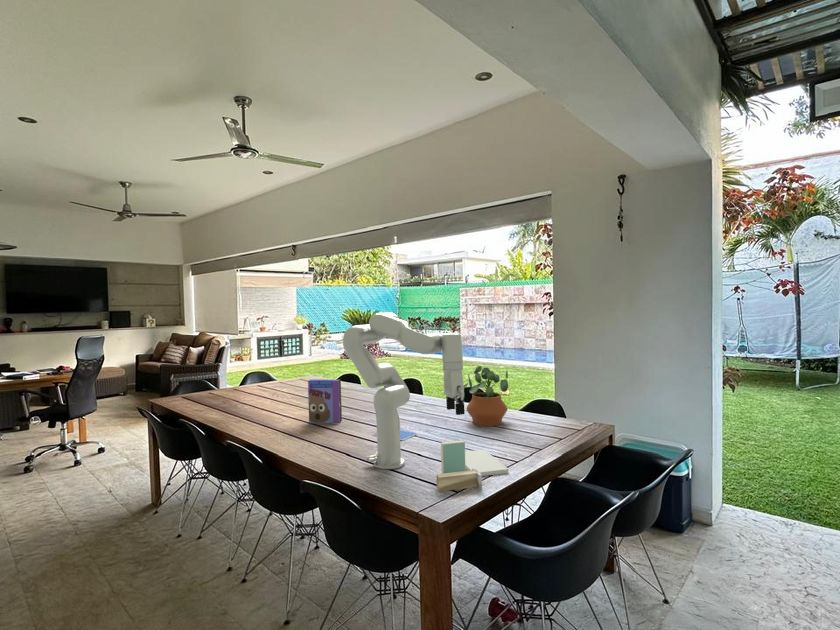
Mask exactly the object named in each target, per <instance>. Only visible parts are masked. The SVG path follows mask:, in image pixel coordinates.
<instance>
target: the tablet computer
mask: <svg viewBox="0 0 840 630" xmlns="http://www.w3.org/2000/svg"><path fill="white" fill-rule="evenodd" d="M373 434H374V435H373V436H375V435H377V432H375V433H373ZM415 435H416V436H418V433H417V432H413V431H407V430H402V429H400V440H402V441H401V442H403V440H404V441H406V439H407V440H409V439H411V438H413V436H414V437H416V436H415ZM410 437H411V438H410ZM408 438H409V439H408Z"/></svg>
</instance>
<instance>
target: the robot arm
mask: <svg viewBox="0 0 840 630" xmlns="http://www.w3.org/2000/svg"><path fill="white" fill-rule="evenodd" d="M384 338H389V339H392V340H395V341H396V342H399V344H400V345H402V346H403V347H404V348H406V349H408V350H410V351H413V352H416V353H417V354H418V353H419V354H421V355H431V354H436V353H439V352H441V357H442V371H443V394H444V396H445V400H446V410H448V411H450V410H451V411H452V410H455V415H456V416H461V415H465V414H466V412H465V411H466V410H465V388H464V385H465V384H464V375H463V370H464V361H463V359H464V357H463V343H462V342H463V339H462V335H461V333H459V332H449V333H448V332H447V333H443V332H429V333H422V332H419V331H417V330H414V329H412V328H411V326H410V323H409V322H408V321H406V320H403V319H401V318H399V316H398V315H397V314H396V313H393V312H389V311H388V312H377V313H374V314H373V315H371V316H370V318H369V321H368V324H357V325H352V326H350V327H348V328H347V329H345V331H344V333H343V336H342V346H343V350H344V351H345V353H346V355H347V356H348V358H349V359H350V361H352V363H353V364H354V366H355V368H356V370H357V371H358V374H359V375H360V376H361V379H363V381H364V382H365V384H366V386H368V388H370V389H377V388H380V387H382V388H380V389H378V390H377V391H376V392H375V394H374V396H373V405H374V409H375V410H374V411H375V417H376V433H377V436H376V443H377V444H376V445H377V447H376V448H377V450H376V451H375V454H373V455H366V456H365V462H370V463H373V466H374V467H375V468H377V469H380V470H394V469H398V468H401V467H403V466H404V465H405V464H406V463H405V462H406V461H405V459H404V458H402V457H401V456H402V455H401V454H402V453H401V452H402V451H401V450H402V449H401V448H402V447H401V441H400V430H401V419H400V415H399V413H398V408H400V407H402V406H403V407H404V406H405V405H406V404H407V403H408V402H409V401H410V397H411V394H410V390H409V388H408V386H407V384H406V382H405V381H404V380H403V378H402V377H401V375H400V374H399V372H398V370H397V369H396V368H395V366H393V365H392V364H391V363H388V362H382V363H379V362H378V361H377V360H376V358H375V357H374V355H373V354H372V352H371V351H370V350H369V349H367V348H366V347H365V346H366V345H370V344H371V345H372V344H376V343H378V342H379V341H382V340H383V339H384Z"/></svg>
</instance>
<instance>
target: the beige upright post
mask: <svg viewBox="0 0 840 630" xmlns="http://www.w3.org/2000/svg"><path fill="white" fill-rule="evenodd" d="M482 478H483V476H482V475H481V474H480V473H479V472H478V471H477V470H476V469H475V468H472V470H469V471H468V470H466V471H461V472H452V473H444V474H442V473H438V474H437V473H436V489H437V490H438V492H440V493H441V492H447V491H454V490H462V489H471V488H476V487H477V489H479V490H482V489H483V479H482Z"/></svg>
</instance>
